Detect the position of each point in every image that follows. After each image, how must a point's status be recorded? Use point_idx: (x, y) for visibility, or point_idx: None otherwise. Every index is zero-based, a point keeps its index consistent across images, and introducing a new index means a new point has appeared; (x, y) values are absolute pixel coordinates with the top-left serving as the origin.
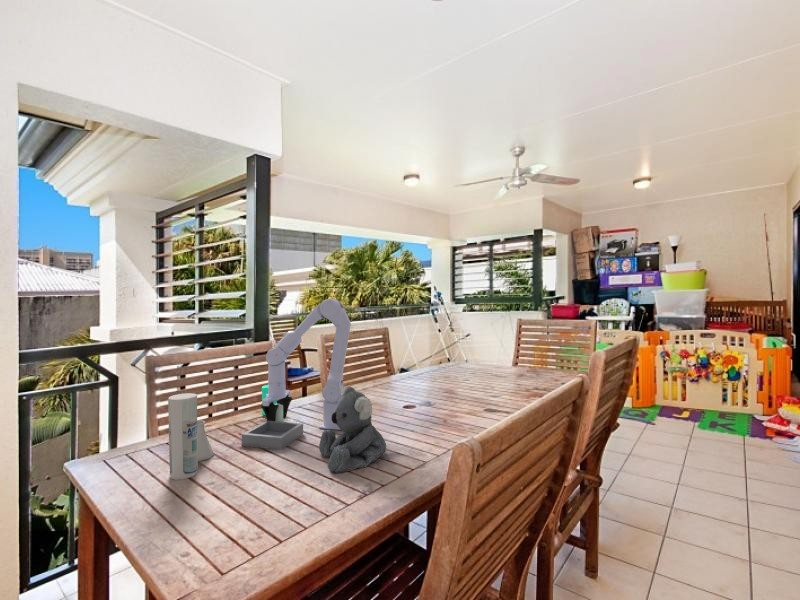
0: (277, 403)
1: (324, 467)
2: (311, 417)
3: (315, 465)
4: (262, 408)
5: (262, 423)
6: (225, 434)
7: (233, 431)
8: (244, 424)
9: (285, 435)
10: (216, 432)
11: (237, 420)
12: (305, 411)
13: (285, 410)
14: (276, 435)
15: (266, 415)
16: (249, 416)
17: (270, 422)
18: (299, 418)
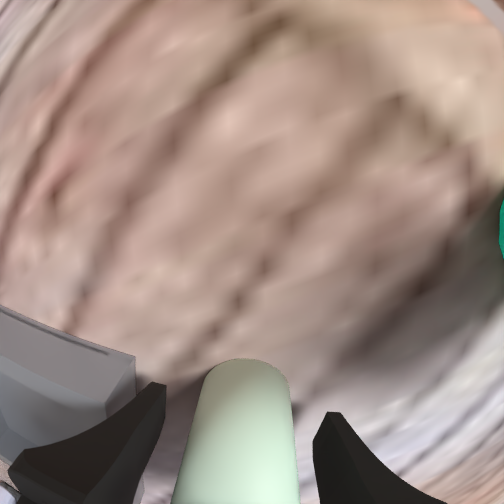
0: (369, 497)
1: (8, 479)
2: (396, 474)
3: (3, 471)
4: (36, 450)
5: (45, 382)
6: (50, 91)
7: (99, 104)
8: (280, 99)
9: (7, 463)
10: (91, 11)
11: (378, 14)
12: (498, 409)
13: (321, 491)
14: (68, 420)
15: (104, 425)
16: (475, 84)
17: (85, 426)
18: (396, 443)
